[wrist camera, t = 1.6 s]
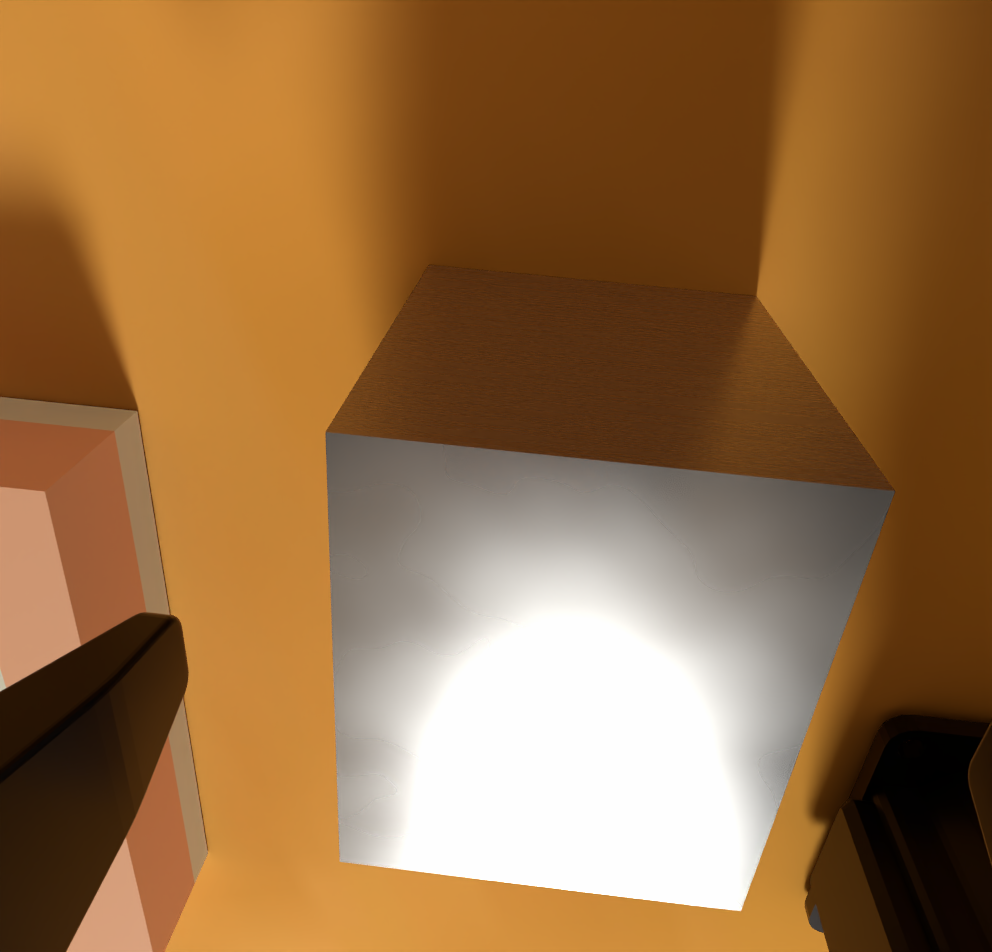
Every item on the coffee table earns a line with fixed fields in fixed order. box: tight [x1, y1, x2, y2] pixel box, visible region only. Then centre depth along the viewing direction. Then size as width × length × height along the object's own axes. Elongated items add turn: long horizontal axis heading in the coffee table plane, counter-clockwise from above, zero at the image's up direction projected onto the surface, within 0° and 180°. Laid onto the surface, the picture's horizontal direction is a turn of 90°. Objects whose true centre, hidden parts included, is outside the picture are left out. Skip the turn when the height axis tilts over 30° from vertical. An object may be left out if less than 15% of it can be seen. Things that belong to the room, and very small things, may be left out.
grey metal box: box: [326, 265, 895, 911], centre depth 11 cm, size 5×6×6 cm
